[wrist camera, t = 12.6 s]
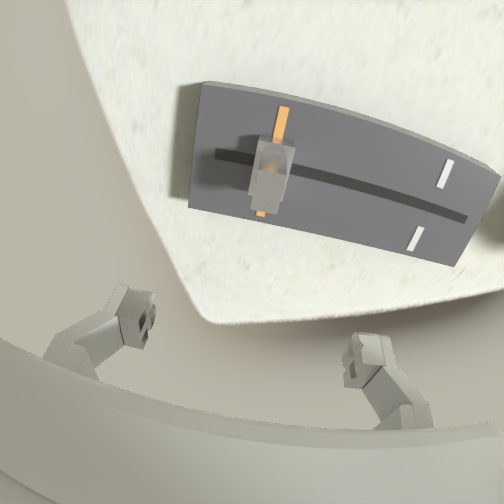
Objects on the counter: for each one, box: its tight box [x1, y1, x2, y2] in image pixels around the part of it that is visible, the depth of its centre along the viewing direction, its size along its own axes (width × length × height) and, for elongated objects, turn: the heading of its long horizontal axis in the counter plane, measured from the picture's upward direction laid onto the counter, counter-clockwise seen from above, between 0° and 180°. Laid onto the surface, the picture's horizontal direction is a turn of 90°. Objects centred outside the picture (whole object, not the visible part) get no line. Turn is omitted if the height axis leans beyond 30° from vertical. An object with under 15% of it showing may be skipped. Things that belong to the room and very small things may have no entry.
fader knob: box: [248, 135, 296, 215], centre depth 24 cm, size 3×5×6 cm, turn 170°
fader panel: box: [188, 81, 501, 267], centre depth 28 cm, size 30×12×3 cm, turn 80°
